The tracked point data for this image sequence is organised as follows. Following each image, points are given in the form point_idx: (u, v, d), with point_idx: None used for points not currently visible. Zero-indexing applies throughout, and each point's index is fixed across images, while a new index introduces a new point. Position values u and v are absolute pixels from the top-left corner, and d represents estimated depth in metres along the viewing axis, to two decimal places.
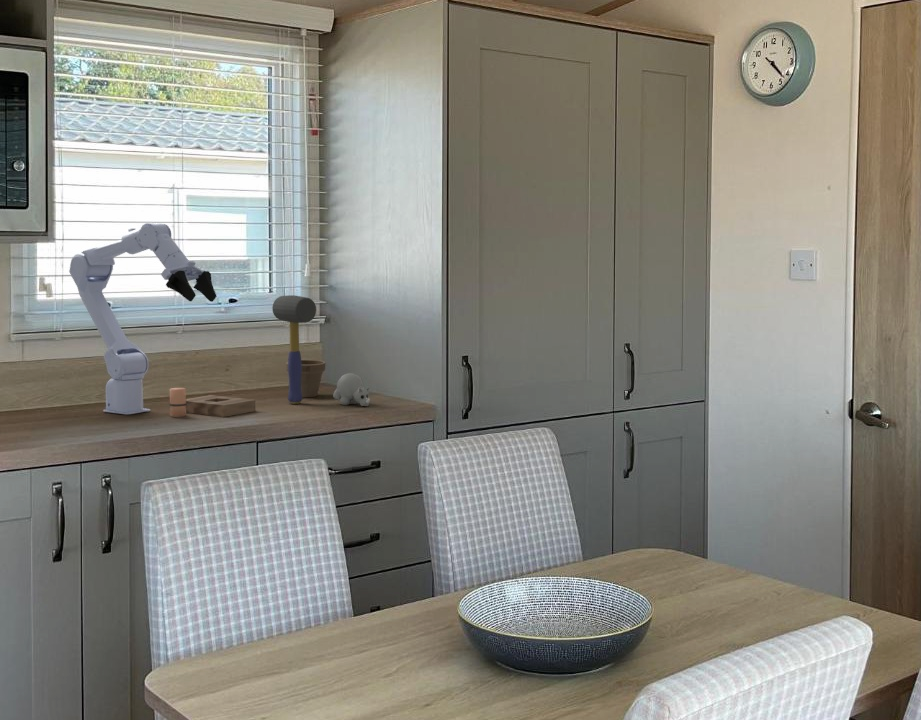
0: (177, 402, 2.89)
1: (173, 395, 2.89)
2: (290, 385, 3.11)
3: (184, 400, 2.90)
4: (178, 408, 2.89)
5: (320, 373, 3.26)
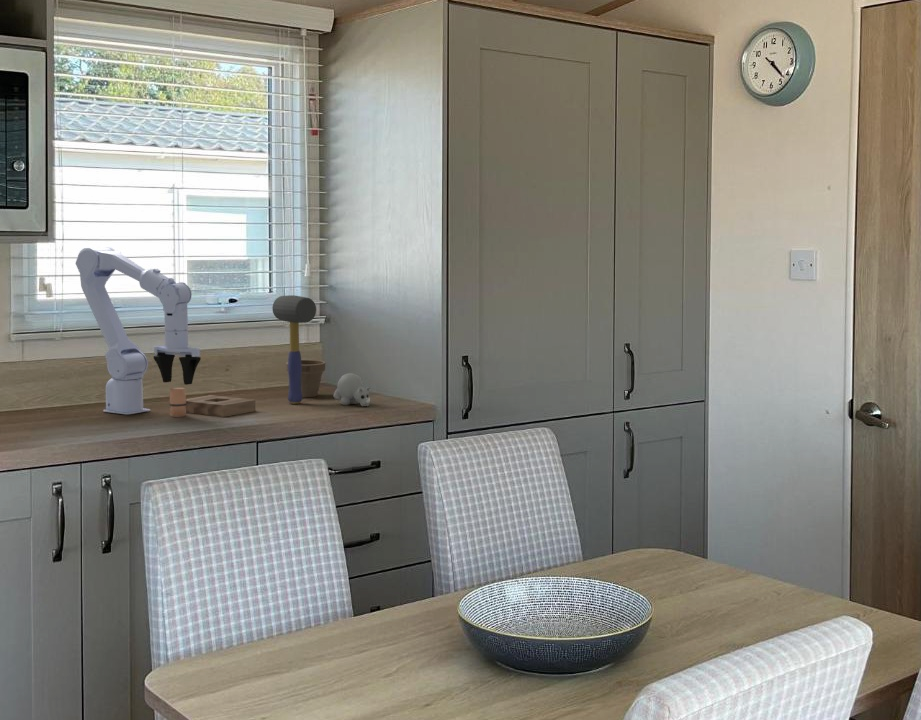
0: (177, 402, 2.89)
1: (173, 395, 2.89)
2: (290, 385, 3.11)
3: (184, 400, 2.90)
4: (178, 408, 2.89)
5: (320, 373, 3.26)
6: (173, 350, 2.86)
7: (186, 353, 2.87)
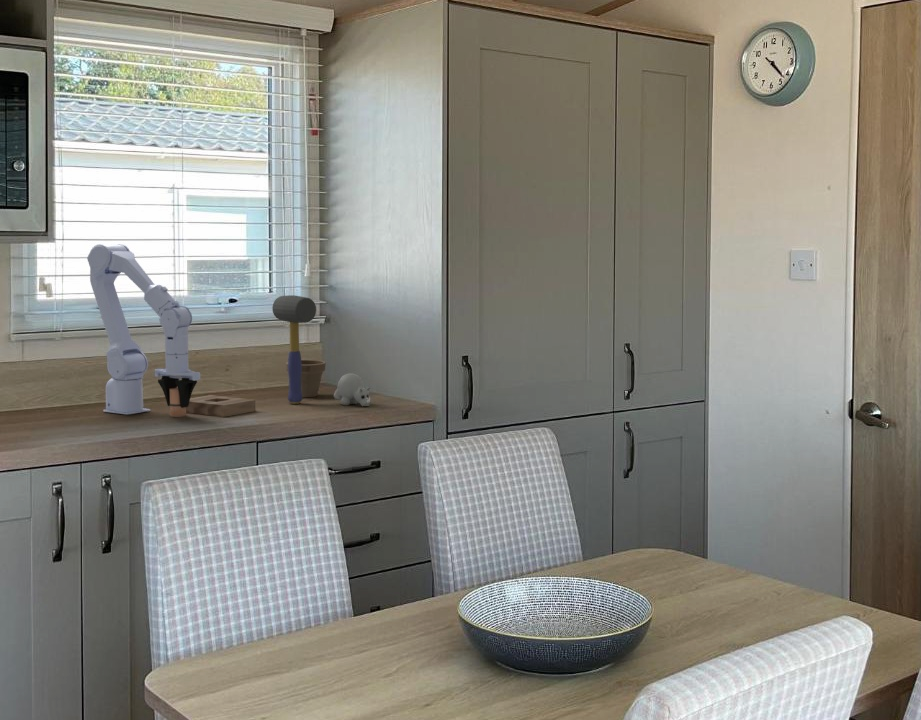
0: (177, 402, 2.89)
1: (173, 395, 2.89)
2: (290, 385, 3.11)
3: None
4: (178, 408, 2.89)
5: (320, 373, 3.26)
6: (174, 374, 2.87)
7: (186, 377, 2.88)
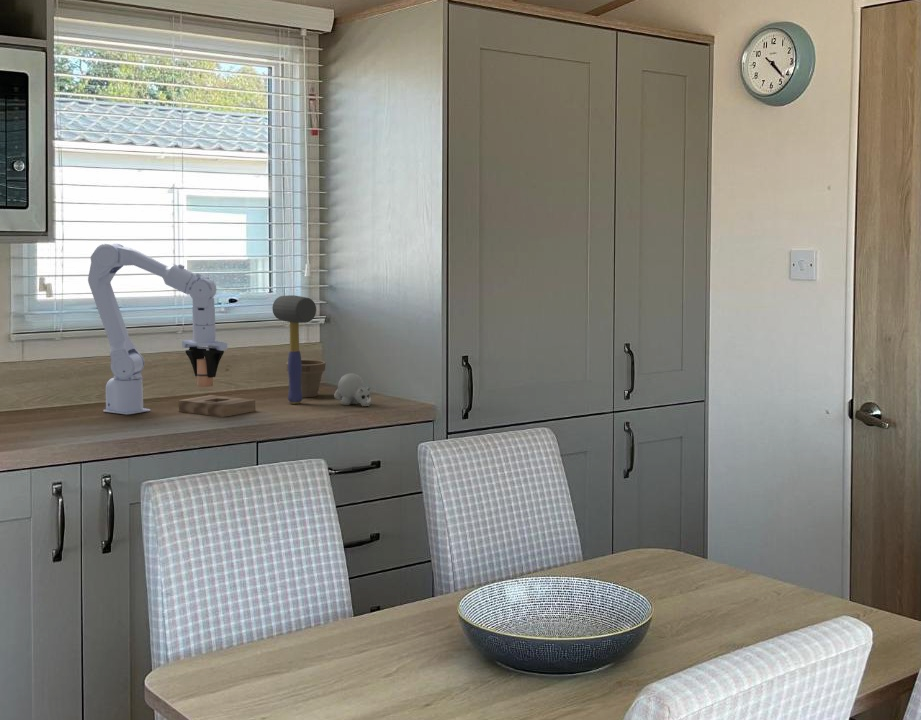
0: (204, 372, 2.93)
1: (200, 366, 2.93)
2: (290, 385, 3.11)
3: None
4: (205, 378, 2.93)
5: (320, 373, 3.26)
6: (201, 344, 2.91)
7: (214, 347, 2.92)
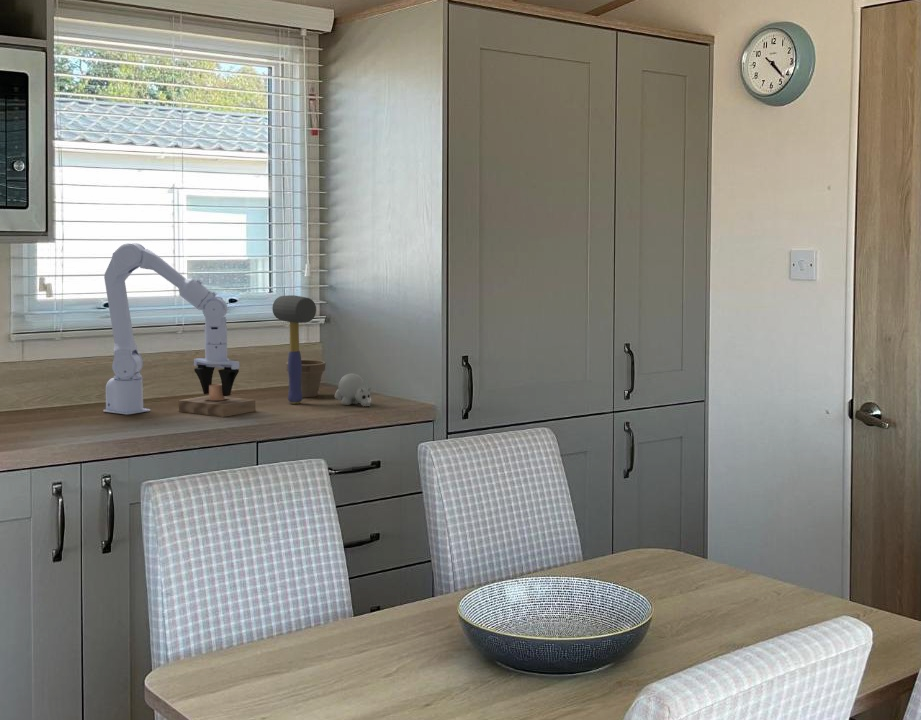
0: (216, 398, 2.96)
1: (213, 392, 2.96)
2: (290, 385, 3.11)
3: (223, 396, 2.98)
4: None
5: (320, 373, 3.26)
6: (213, 363, 2.94)
7: (226, 366, 2.95)
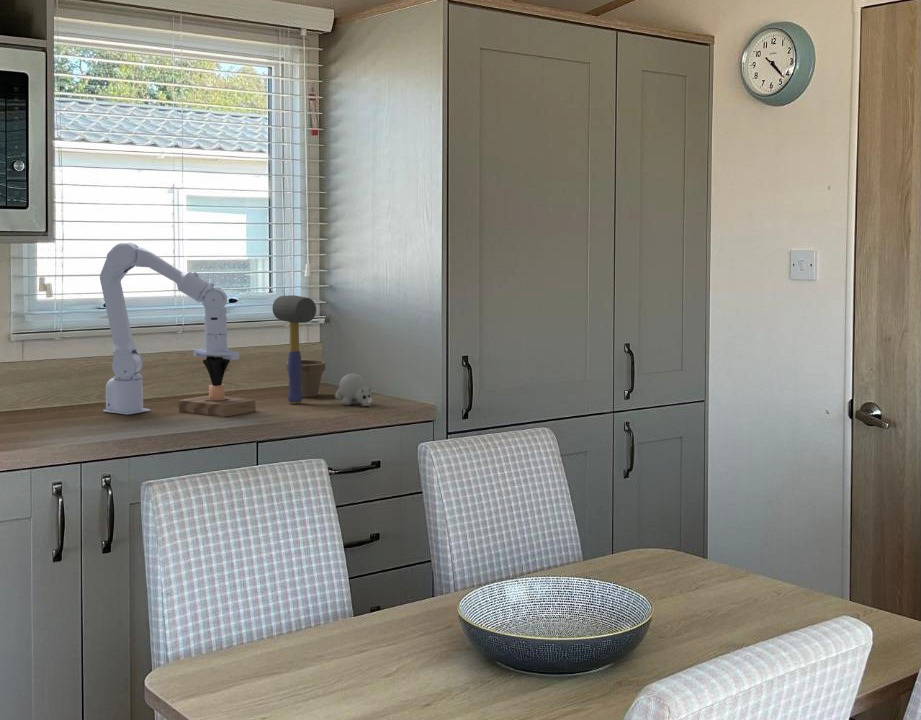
0: (216, 398, 2.96)
1: (213, 392, 2.96)
2: (290, 385, 3.11)
3: (223, 396, 2.98)
4: None
5: (320, 373, 3.26)
6: (213, 353, 2.94)
7: (226, 356, 2.95)
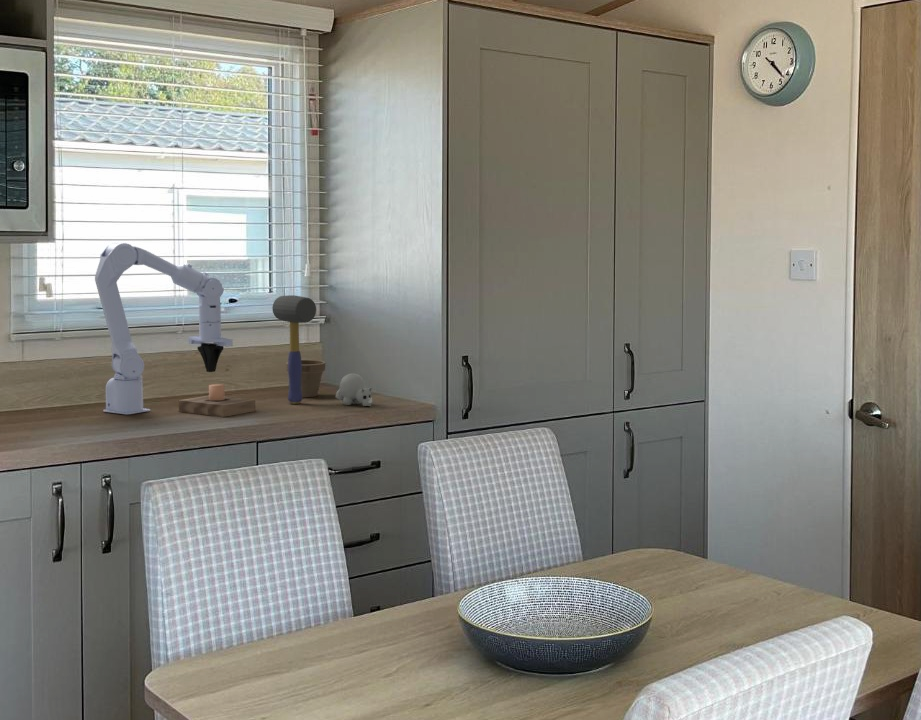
0: (216, 398, 2.96)
1: (213, 392, 2.96)
2: (290, 385, 3.11)
3: (223, 396, 2.98)
4: None
5: (320, 373, 3.26)
6: (207, 340, 3.03)
7: (219, 343, 3.04)
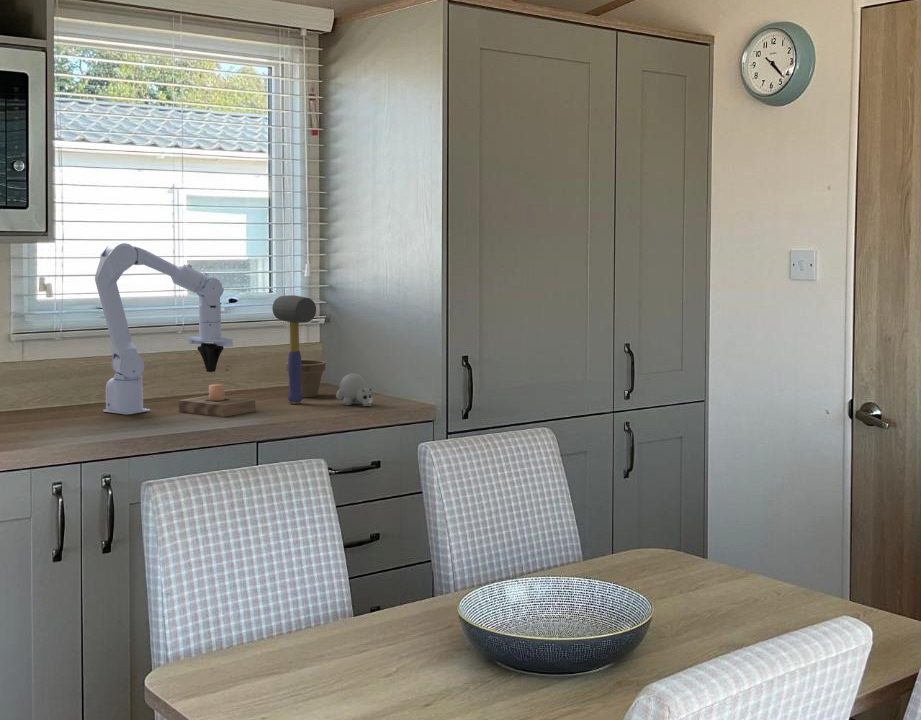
0: (216, 398, 2.96)
1: (213, 392, 2.96)
2: (290, 385, 3.11)
3: (223, 396, 2.98)
4: None
5: (320, 373, 3.26)
6: (207, 340, 3.03)
7: (219, 343, 3.04)
